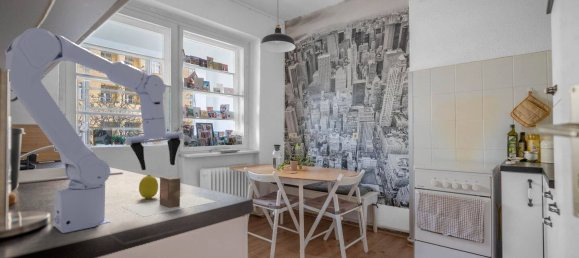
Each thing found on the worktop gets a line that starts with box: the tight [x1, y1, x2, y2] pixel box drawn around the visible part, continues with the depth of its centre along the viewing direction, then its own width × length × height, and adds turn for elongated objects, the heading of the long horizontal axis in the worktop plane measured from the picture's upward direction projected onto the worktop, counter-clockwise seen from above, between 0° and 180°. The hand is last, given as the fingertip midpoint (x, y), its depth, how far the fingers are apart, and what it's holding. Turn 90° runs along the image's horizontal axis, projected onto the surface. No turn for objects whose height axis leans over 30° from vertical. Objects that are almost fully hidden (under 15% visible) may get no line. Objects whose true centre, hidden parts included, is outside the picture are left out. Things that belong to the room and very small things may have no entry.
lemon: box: [138, 174, 159, 200], centre depth 95 cm, size 6×6×8 cm
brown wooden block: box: [159, 175, 181, 208], centre depth 87 cm, size 3×6×8 cm, turn 50°
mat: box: [121, 194, 217, 217], centre depth 88 cm, size 22×14×1 cm, turn 140°
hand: (158, 167), depth 84 cm, fingers open, 7 cm apart
